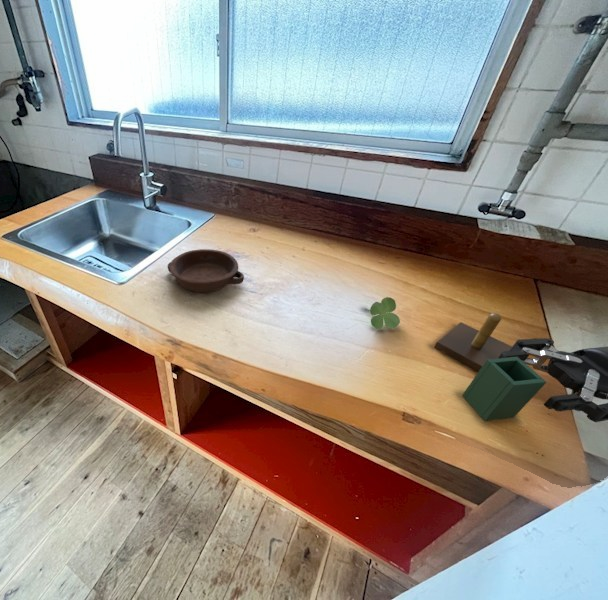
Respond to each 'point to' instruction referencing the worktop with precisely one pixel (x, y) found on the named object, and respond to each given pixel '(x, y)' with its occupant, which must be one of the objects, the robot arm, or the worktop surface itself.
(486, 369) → the sleeve
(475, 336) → the brown peg stand
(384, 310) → the green leafy piece
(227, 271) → the dish
